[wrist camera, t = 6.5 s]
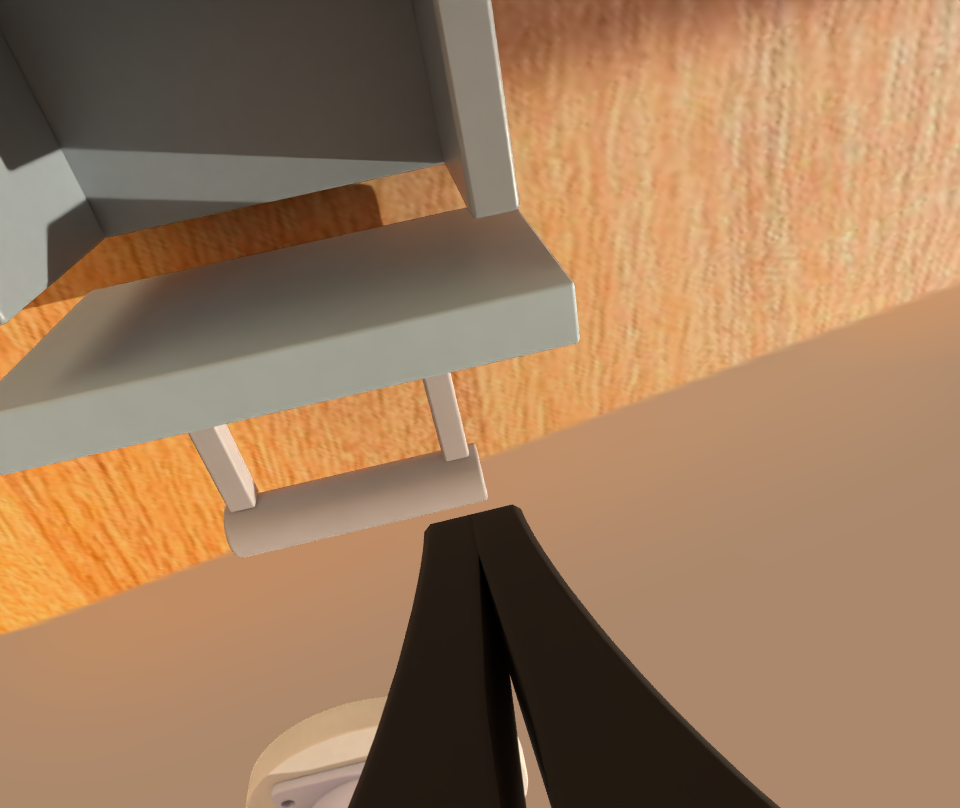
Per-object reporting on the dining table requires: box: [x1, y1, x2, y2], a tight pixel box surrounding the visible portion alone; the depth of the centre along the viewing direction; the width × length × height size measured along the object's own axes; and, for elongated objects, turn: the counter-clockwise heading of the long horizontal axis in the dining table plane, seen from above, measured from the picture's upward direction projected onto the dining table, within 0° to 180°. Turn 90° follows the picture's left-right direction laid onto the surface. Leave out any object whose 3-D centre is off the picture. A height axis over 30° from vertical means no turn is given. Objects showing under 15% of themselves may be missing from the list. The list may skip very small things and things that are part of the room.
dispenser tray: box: [0, 0, 580, 558], centre depth 11 cm, size 17×10×6 cm, turn 10°
